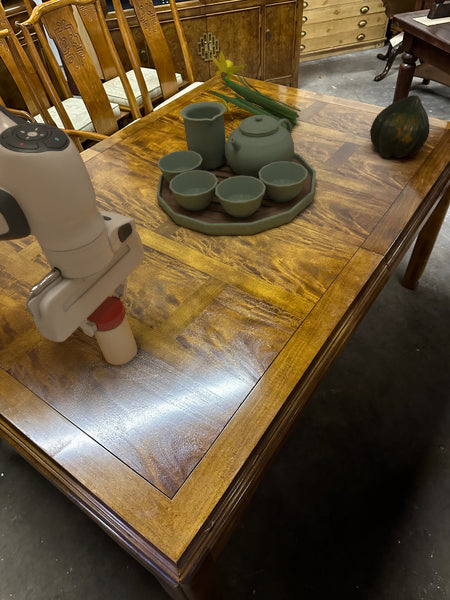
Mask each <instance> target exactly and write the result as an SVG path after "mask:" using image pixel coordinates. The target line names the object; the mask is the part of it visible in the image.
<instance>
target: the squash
mask: <svg viewBox="0 0 450 600" xmlns="http://www.w3.org/2000/svg"><path fill="white" fill-rule="evenodd" d="M429 135H430V120H429V116H428V113H427V111H426V109H425V107H424V106H423V103H422V100H421V99H420V97H419V95H418V94H415V95H408V96H405V97H403V98H401V99H398V100H396V101H394V102H393V103H390V104H389V105H388V106H386V107H385V108H383V109H382V110H381V111H380V112H379V113H378V114H377V115H376V117H375V118H374V120H373V122H372V124H371V126H370V129H369V136H370V142H371V143H372V145H373V147H374V148H375V149H377V150H379V153H380V155H381V156H382V157H383V158H392V156H393V157H394V158H395V159H401V158H404V157H405V156H410V155H413V154H416V153H417V152H418V151H419V150H420V149H421V148H422V147H423V146H424V145H425V143H426V141H427V140H428V138H429Z"/></svg>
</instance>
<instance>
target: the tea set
mask: <svg viewBox="0 0 450 600" xmlns="http://www.w3.org/2000/svg"><path fill="white" fill-rule="evenodd" d="M212 101H213V100H211V101H198V102H194V103H190V104H188V105H186V106H184V107H182V109H181V110H180V111H179V114H180V116H181V118H182V122H183V127H184V134H185V141H186V148H187V150H186V149H185V150H176V151H172V152H169V153H167V154H164V155H163V156H161V157H160V158H159V159H158V161H157V167H158V168H159V170H160V172H161V174H160V175H159V176H158V183H157V190H156V191H157V192H156V200H157V203H158V204H159V206H160V207H161V208H162V209H163V210H164V212H165V213H166V214H167V215H168V216H169V217H170V218H171V220H172V221H173V222H174V223H175V224H176V225H178V226H182V227H184V228H188V229H190V230H194V231H197V232H199V233H202V234H206V235H208V236H243V235H244V236H245V235H246V236H247V235H250V236H251V235H254V234H257V233H260V232H264V231H267V230H269V229H274V228H276V227H279V226H283V225H287V224H288V223H290V222H292V220H294V219H295V218H296V217H297V216H298V215H299V214H300V213H301V212H302V211H304V210H305V209H306V208H307V207H308V206H309V205H310V204H312V202H313V200H314V195H315V186H316V175H317V170H315V168H313V167H312V165H311V164H310V163H309V162H308V161H307V160H306V158H305V157H303V155H301V154H300V153H297V152H295V142H294V139H293V136H292V132H293V126H291V123H290V121H289V120H287V119H285V118H283V119H281V120H279V121H277V120H276V119H274V118H273V117H271V116H266V115H251V116H248V117H246V118H244V119H243V120H241V122H240V123H239V126H238V127H237V128H235V129H233V130H232V131H231V133H230V134H229V135H228V137H226V129H225V116H224V115H225V113H224V112H225V111H226V108H225V106H224V105H222V104H221V103H218V102H212ZM283 123H285V124H286V125H287V130H286V129H285V128H284V127H282V124H283ZM226 139H227V140H226Z"/></svg>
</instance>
